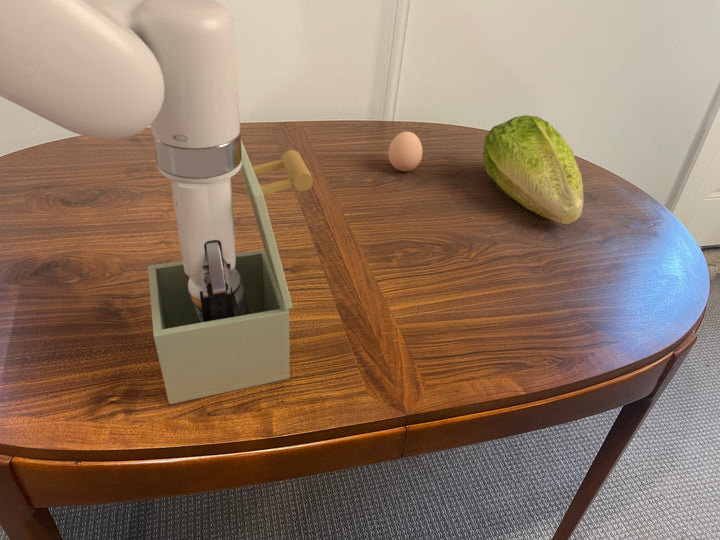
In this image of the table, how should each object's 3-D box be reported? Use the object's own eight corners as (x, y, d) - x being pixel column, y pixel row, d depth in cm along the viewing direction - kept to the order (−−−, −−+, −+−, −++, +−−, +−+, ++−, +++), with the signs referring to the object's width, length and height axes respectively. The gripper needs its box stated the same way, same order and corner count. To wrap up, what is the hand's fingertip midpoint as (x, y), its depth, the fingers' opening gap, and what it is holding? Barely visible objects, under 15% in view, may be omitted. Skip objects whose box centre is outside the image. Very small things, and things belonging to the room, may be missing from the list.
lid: (254, 196, 47) (319, 178, 48) (232, 139, 55) (288, 125, 56) (285, 310, 56) (339, 293, 57) (263, 246, 65) (310, 232, 66)
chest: (169, 405, 59) (153, 336, 52) (162, 332, 68) (147, 265, 61) (289, 378, 63) (289, 312, 57) (269, 313, 72) (266, 248, 65)
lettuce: (528, 210, 85) (616, 166, 83) (464, 127, 101) (538, 88, 99) (538, 260, 96) (616, 221, 94) (479, 178, 112) (545, 143, 110)
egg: (379, 168, 106) (383, 131, 102) (400, 158, 111) (405, 122, 106) (405, 181, 103) (411, 143, 98) (426, 170, 107) (432, 133, 102)
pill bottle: (199, 346, 60) (174, 281, 54) (208, 310, 65) (185, 246, 58) (249, 342, 60) (230, 276, 54) (254, 306, 65) (237, 242, 58)
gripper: (150, 114, 53) (173, 258, 65) (161, 202, 41) (187, 362, 52) (226, 110, 56) (236, 250, 67) (259, 193, 43) (264, 348, 54)
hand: (214, 298), depth 59 cm, fingers closed on pill bottle, 5 cm apart
